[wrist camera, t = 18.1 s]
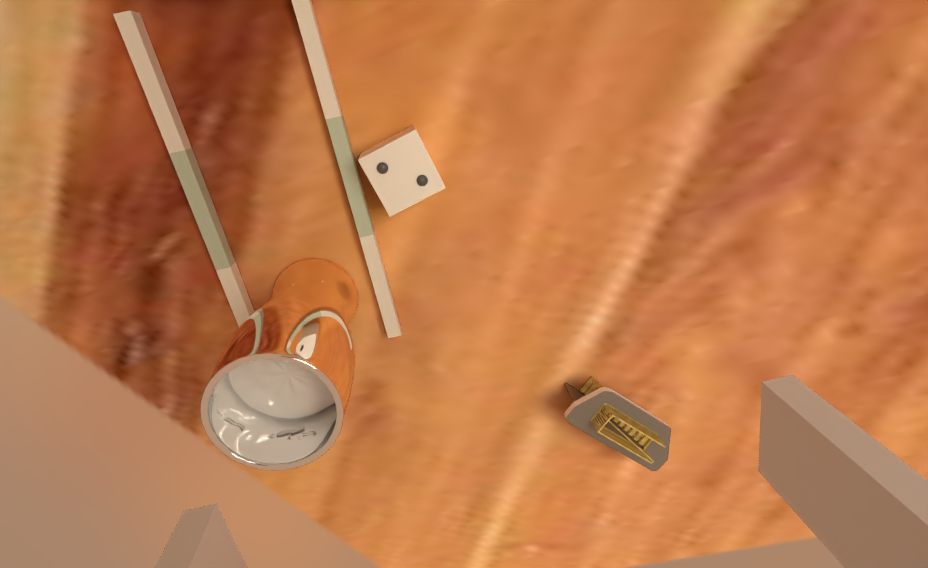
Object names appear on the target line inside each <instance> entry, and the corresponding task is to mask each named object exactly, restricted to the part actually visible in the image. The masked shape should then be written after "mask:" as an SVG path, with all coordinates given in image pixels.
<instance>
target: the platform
mask: <svg viewBox="0 0 928 568" xmlns="http://www.w3.org/2000/svg"><path fill="white" fill-rule="evenodd" d="M592 383H593V384H592ZM564 385H565V387H566V389H567V390H568V392H569V394H570V396H571V397H572V399H573V401H574V402H573V403H572V404H571V405H570V406H569V408H568V409H567V410H566V411H565V413H564V416H565V418H566V420H567V422H568V423H570V424H572V425H573V426H575V427H577V428H578V429H580V430H582V431H584V432H585V433H587V434H589V435H591V436H592V437H594V438H596V439H598V440H599V441H601V442H603V443H604V444H606V445H608V446H610V447H611V448H613V449H615V450H617V451H618V452H620V453H622V454H623V455H625V456H627V457H629V458H630V459H632V460H634V461H636V462H637V463H639V464H641V465H643V466H644V467H646V468H648V469H649V470H651V471H657V470H658V469H660V467H661V466H662V465H663V464H664V463H665V462H666V461H667V460H668V454H669V444H670V434H671V428H670V427H669V426H668V425H667V423H665V422H664V421H662V420H661V419H659V418H657V417H656V416H654V415H653V414H651V413H649V412H648V411H646V410H645V409H643V408H641V407H640V406H638V405H637V404H635V403H633V402H632V401H630V400H629V399H627V398H625V397H624V396H622V395H620V394H619V393H617V392H616V391H614V390H612V389H611V388H606V387H603V386H602V385H600V384H599V382H598V381H595V379H594V378H592V376H591V377H590V378H589V379H588V381H587V382H586V383H585V384H584V385H583V387H582V388H581V389H580V391H581V392H580V391H578V390H577V389H575V388H574V387H572V386H570V385H569V384H567V383H564ZM591 385H592V386H591ZM590 386H591V387H590ZM589 387H590V388H589ZM588 388H589V389H588ZM596 388H597V389H596ZM587 389H588V390H587ZM595 389H596V390H595ZM586 390H587V391H586ZM582 392H583V393H585V392H586V393H585V394H583V393H582ZM606 406H607V407H606ZM642 435H644V436H643V437H642Z"/></svg>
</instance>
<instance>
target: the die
mask: <svg viewBox="0 0 928 568" xmlns="http://www.w3.org/2000/svg"><path fill="white" fill-rule="evenodd" d="M358 161H359V163H360V165H361V167H362V169H363V170H364V172H365V174H366V176H367V177H368V179H369V181H370V183H371V184H372V186H373V188H374V190H375V191H376V193H377V195H378V197H379V198H380V200H381V202H382V204H383V205H384V207H385V209H386V211H387V213H388V214H389V216H390V217H391V216H393V215H395V214H397V213H398V212H400V211H402V210H404V209H406V208H408V207H410V206H412V205H414V204H416V203H418V202H420V201H421V200H423V199H425V198H427V197H429V196H431V195H433V194H435V193H437V192H439V191H441V190H442V189H444V188H446V187H445V185H444V183H443V181H442V179H441V177H440V175H439V173H438V171H437V169H436V167H435V165H434V163H433V161H432V160H431V158H430V156H429V154H428V152H427V150H426V148H425V146H424V144H423V142H422V140H421V138H420V136H419V134H418V132H417V130H416V128H415V126H414V125H412V126H410V127H408V128H406V129H405V130H403V131H401V132H399V133H397V134H395V135H393V136H391V137H389V138H388V139H386V140H384V141H382V142H380V143H378V144H376V145H374V146H373V147H371V148H369V149H367V150H365V151H363V152H361V154H360V156H359V158H358Z"/></svg>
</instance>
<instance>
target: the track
mask: <svg viewBox="0 0 928 568" xmlns="http://www.w3.org/2000/svg"><path fill="white" fill-rule="evenodd" d="M292 4H293V7H294V11H295V14H296V18H297V21H298V25H299V28H300V32H301V35H302V39H303V42H304V46H305V49H306V53H307V56H308V60H309V63H310V67H311V70H312V74H313V77H314V81H315V84H316V88H317V91H318V95H319V98H320V102H321V105H322V109H323V112H324V116H325V119H326V123H327V126H328V130H329V133H330V137H331V140H332V144H333V147H334V151H335V154H336V158H337V161H338V165H339V168H340V172H341V175H342V179H343V182H344V186H345V189H346V193H347V196H348V200H349V203H350V207H351V210H352V214H353V217H354V221H355V224H356V228H357V231H358V234H359V238H360V241H361V245H362V248H363V252H364V255H365V259H366V262H367V266H368V269H369V273H370V276H371V280H372V283H373V287H374V290H375V294H376V297H377V301H378V304H379V308H380V311H381V315H382V318H383V322H384V325H385V329H386V332H387V336H388V338H392V337H396V336H400V335H401V326H400V322H399V319H398V315H397V312H396V308H395V304H394V301H393V297H392V293H391V290H390V286H389V282H388V279H387V275H386V271H385V268H384V264H383V260H382V257H381V253H380V249H379V246H378V242H377V239H376V235H375V231H374V228H373V224H372V220H371V217H370V213H369V209H368V206H367V202H366V198H365V195H364V191H363V187H362V184H361V180H360V176H359V173H358V169H357V165H356V162H355V158H354V155H353V151H352V147H351V144H350V140H349V136H348V133H347V129H346V125H345V122H344V118H343V114H342V111H341V107H340V103H339V100H338V96H337V92H336V89H335V85H334V81H333V78H332V74H331V71H330V67H329V63H328V60H327V56H326V52H325V49H324V45H323V41H322V38H321V34H320V30H319V27H318V23H317V19H316V16H315V12H314V8H313V5H312V1H311V0H292ZM113 15H114V18H115V20H116V23H117V25H118V28H119V30H120V33H121V35H122V38H123V40H124V43H125V45H126V48H127V50H128V53H129V55H130V58H131V60H132V63H133V65H134V68H135V70H136V73H137V75H138V78H139V80H140V82H141V85H142V87H143V90H144V92H145V95H146V97H147V100H148V102H149V105H150V107H151V110H152V112H153V115H154V117H155V120H156V122H157V125H158V127H159V130H160V132H161V135H162V137H163V140H164V142H165V145H166V147H167V150H168V152H169V155H170V157H171V160H172V162H173V165H174V167H175V170H176V172H177V175H178V177H179V180H180V182H181V185H182V187H183V189H184V192H185V194H186V197H187V199H188V202H189V204H190V207H191V209H192V212H193V214H194V217H195V219H196V222H197V224H198V227H199V229H200V232H201V234H202V237H203V239H204V242H205V244H206V247H207V249H208V252H209V254H210V257H211V259H212V262H213V264H214V267H215V269H216V272H217V274H218V277H219V279H220V282H221V284H222V287H223V289H224V292H225V294H226V296H227V299H228V301H229V304H230V306H231V309H232V311H233V314H234V316H235V319H236V321H237V324H238V326H239V327H240V326H241V325H242V324H243V322H244V321H246V320H247V319H248V318H249V317H250V316H251V315H252V314H253V313H254V312H255V311H254V309H253V306H252V304H251V301H250V298H249V296H248V293H247V291H246V288H245V285H244V283H243V280H242V278H241V275H240V272H239V270H238V267H237V265H236V262H235V259H234V257H233V254H232V252H231V249H230V246H229V244H228V241H227V239H226V236H225V233H224V231H223V228H222V226H221V223H220V220H219V218H218V215H217V213H216V210H215V207H214V205H213V202H212V200H211V197H210V194H209V192H208V189H207V187H206V184H205V181H204V179H203V176H202V174H201V171H200V168H199V166H198V163H197V161H196V158H195V155H194V153H193V150H192V148H191V145H190V142H189V140H188V137H187V135H186V132H185V129H184V127H183V124H182V122H181V119H180V116H179V114H178V111H177V109H176V106H175V103H174V101H173V98H172V96H171V93H170V90H169V88H168V85H167V83H166V80H165V77H164V75H163V72H162V70H161V67H160V64H159V62H158V59H157V57H156V54H155V51H154V49H153V46H152V44H151V41H150V38H149V36H148V33H147V31H146V28H145V25H144V23H143V20H142V18H141V15H140V13H138V12H134V11H131V10H130V11H126V12H121V13H116V14H113Z"/></svg>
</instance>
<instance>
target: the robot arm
mask: <svg viewBox="0 0 928 568" xmlns="http://www.w3.org/2000/svg"><path fill="white" fill-rule="evenodd" d="M758 471H759V472H760V473H761V474H762V476H763V477H764V478H765V479H766V480H767V481H768V482H769V483H770V485H771V486H772V487H773V488H774V489H775V490H776V491H777V492H778V494H779V495H780V496H781V497H782V498H783V499H784V500H785V501H786V503H787V504H788V505H789V506H790V507H791V508H792V509H793V510H794V512H795V513H796V514H797V515H798V516H799V517H800V518H801V519H802V520H803V522H804V523H805V524H806V525H807V526H808V527H809V528H810V529H811V531H812V532H813V533H814V534H815V535H816V536H817V537H818V538H819V540H820V541H821V542H822V543H823V544H824V545H825V546H826V547H827V548H828V550H829V551H830V552H831V553H832V554H833V555H834V556H835V557H836V559H837V560H838V561H839V562H840V563H841V564H842V565H843V567H844V568H928V480H927V479H926V478H924V477H923V476H922V475H921V474H919V473H918V472H917V471H915V470H914V469H913V468H912V467H910V466H909V465H908V464H906V463H905V462H904V461H903V460H901V459H900V458H899V457H897V456H896V455H895V454H894V453H892V452H891V451H890V450H888V449H887V448H886V447H885V446H883V445H882V444H881V443H879V442H878V441H877V440H876V439H874V438H873V437H872V436H870V435H869V434H868V433H867V432H865V431H864V430H863V429H861V428H860V427H859V426H858V425H856V424H855V423H854V422H852V421H851V420H850V419H849V418H847V417H846V416H845V415H843V414H842V413H841V412H840V411H838V410H837V409H836V408H835V407H833V406H832V405H831V404H829V403H828V402H827V401H826V400H824V399H823V398H822V397H820V396H819V395H818V394H817V393H815V392H814V391H813V390H811V389H810V388H809V387H808V386H806V385H805V384H804V383H802V382H801V381H800V380H799V379H797V378H796V377H795V376H793V375H791V376H786V377H782V378H777V379H773V380H768V381H764V382H762V394H761V418H760V442H759V466H758ZM155 568H247V566H246V564H245V561H244V560H243V557H242V555H241V553H240V551H239V549H238V547H237V545H236V543H235V541H234V539H233V537H232V535H231V533H230V531H229V529H228V526H227V524H226V522H225V520H224V518H223V516H222V514H221V512H220V510H219V508H218V506H217V504H213V505H208V506H204V507H200V508H195V509H190V510H186V511H183V513H182V515H181V517H180V519H179V521H178V523H177V525H176V527H175V529H174V531H173V533H172V535H171V537H170V539H169V541H168V543H167V545H166V547H165V549H164V551H163V553H162V555H161V557H160V559H159V561H158V563H157V565H156V567H155Z"/></svg>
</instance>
